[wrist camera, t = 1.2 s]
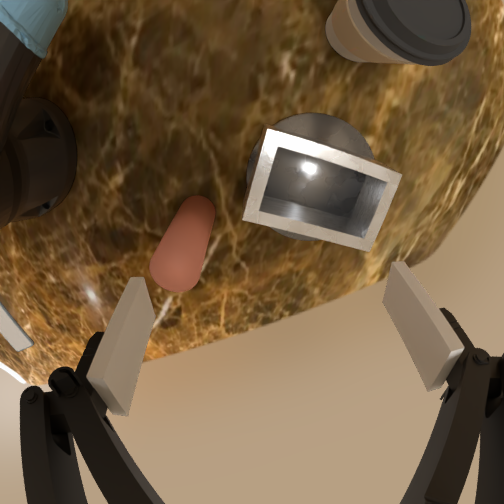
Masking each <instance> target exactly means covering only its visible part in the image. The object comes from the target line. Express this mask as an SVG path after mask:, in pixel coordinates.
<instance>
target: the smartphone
mask: <svg viewBox="0 0 504 504" xmlns="http://www.w3.org/2000/svg"><path fill="white" fill-rule="evenodd" d="M0 332H1V334H2V335H3V336H4V337H5V338H6V340H7V341H8V342H9V343H10V344H11V345H12V347H13V348H14V349H15V350H16V351H18V352H19V351H22V350H24V349H26V348H29V347H31V346H33V345H34V342H33V341H32V339H31V338H30V337H29V336H28V335H27V334H26V333H25V331H24V330H23V329H22V328H21V327H20V326H19V324H18V323H17V322H16V321H15V320H14V318H13V317H12V316H11V315H10V313H9V312H8V311H7V310H6V308H5V307H4V306H3V304H2V303H1V302H0Z"/></svg>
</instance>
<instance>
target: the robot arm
mask: <svg viewBox="0 0 504 504" xmlns="http://www.w3.org/2000/svg"><path fill="white" fill-rule="evenodd" d="M67 9H68V0H0V230H1V229H2V228H3V227H4V226H6V225H7V224H9V223H10V222H15V221H20V220H25V219H31V218H36V217H39V216H42V215H44V214H46V213H48V212H49V211H50V210H52V209H53V208H54V207H56V206H57V205H58V204H60V203H61V202H62V201H63V199H64V198H65V197H66V195H67V194H68V192H69V190H70V188H71V186H72V183H73V180H74V177H75V172H76V165H77V150H76V142H75V138H74V134H73V131H72V128H71V126H70V123H69V121H68V119H67V118H66V116H65V115H64V113H63V112H62V111H61V110H60V109H59V108H58V107H57V106H56V105H55V104H54V103H52V102H50V101H49V100H46V99H43V98H36V97H35V98H27V99H22V98H23V96H24V93H25V91H26V89H27V87H28V85H29V83H30V81H31V79H32V77H33V75H34V73H35V71H36V69H37V67H38V65H39V64H40V62H41V60H42V58H43V59H44V58H45V56H46V54H47V48H48V46H49V44H50V42H51V40H52V39H53V37H54V35H55V33H56V31H57V29H58V28H59V26H60V24H61V23H62V21H63V19H64V18H65V15H66V13H67ZM383 304H384V306H385V308H386V309H387V311H388V313H389V315H390V316H391V319H392V320H393V322H394V324H395V326H396V328H397V330H398V332H399V334H400V336H401V338H402V339H403V341H404V343H405V345H406V347H407V349H408V351H409V353H410V355H411V357H412V359H413V362H414V364H415V366H416V368H417V370H418V372H419V374H420V376H421V378H422V380H423V382H424V385H425V387H426V389H427V391H432V390H435V389H439V388H441V387H442V385H443V384H444V382H445V380H446V381H447V383H448V385H449V386H448V387H447V389H446V390H445V392H444V393H443V395H442V396H441V398H440V400H442V399H443V397H444V399H443V402H442V405H441V408H440V411H439V414H438V417H437V420H436V423H435V426H434V429H433V431H432V434H431V437H430V439H429V442H428V445H427V447H426V449H425V452H424V454H423V457H422V459H421V461H420V464H419V466H418V468H417V470H416V473H415V475H414V477H413V479H412V481H411V483H410V485H409V487H408V489H407V491H406V493H405V495H404V497H403V499H402V500H401V502H400V504H457V503H458V500H459V497H460V495H461V492H462V490H463V487H464V484H465V481H466V478H467V476H468V473H469V470H470V466H471V463H472V460H473V457H474V453H475V449H476V446H477V442H478V438H479V434H480V458H479V472H478V473H479V474H478V482H477V491H476V499H475V504H504V353H503V355H502V357H490V356H489V354H488V353H487V352H486V351H484V350H483V349H480V348H475V347H474V346H473V344H472V342H471V341H470V339H469V338H468V337H467V335H466V333H465V332H464V330H463V329H462V328H461V326H460V325H459V323H458V322H457V320H456V319H455V317H454V316H453V315H452V313H450V312H449V311H448V310H446V309H445V308H438V307H437V305H436V304H435V303H434V301H433V300H432V298H431V297H430V296H429V294H428V293H427V291H426V290H425V289H424V287H423V286H422V285H421V283H420V282H419V281H418V279H417V278H416V277H415V275H414V274H413V273H412V271H411V270H410V269H409V267H408V266H407V265H406V264H405V262H404V261H400V262H392V264H391V268H390V273H389V277H388V282H387V286H386V290H385V294H384V298H383ZM155 317H156V316H155V313H154V310H153V307H152V304H151V300H150V297H149V293H148V290H147V287H146V283H145V280H144V277H131V278H130V280H129V282H128V284H127V286H126V288H125V290H124V292H123V294H122V296H121V298H120V300H119V302H118V304H117V306H116V309H115V311H114V313H113V315H112V317H111V319H110V322H109V324H108V326H107V328H106V331H105V332H96V333H95V334H94V335H93V336H92V337H91V338H90V339H89V341H88V344H87V346H86V349H85V350H84V352H83V356H82V357H81V359H80V361H79V364H78V366H77V368H76V371H75V372H74V370H73V369H72V368H70V367H60V368H57V369H56V370H55V371H53V372H52V374H51V375H50V377H49V380H48V385H49V387H50V388H51V389H52V391H51V392H43V391H42V390H41V388H40V387H38V386H30V387H28V388H27V389H25V390H24V391H23V393H22V395H21V398H20V440H21V456H22V467H23V476H24V484H25V491H26V497H27V503H28V504H88V503H87V499H86V496H85V492H84V488H83V484H82V480H81V476H80V471H79V467H78V462H77V457H76V452H75V447H74V441H73V437H74V439H75V441H76V443H77V445H78V448H79V450H80V452H81V454H82V456H83V458H84V460H85V462H86V464H87V466H88V468H89V470H90V472H91V474H92V476H93V478H94V479H95V481H96V483H97V485H98V487H99V488H100V490H101V492H102V494H103V495H104V497H105V499H106V500H107V502H108V504H165V503H164V502H163V501H162V499H161V498H160V497H159V495H158V494H157V493H156V491H155V490H154V489H153V487H152V486H151V485H150V483H149V482H148V481H147V479H146V478H145V476H144V475H143V474H142V472H141V471H140V469H139V468H138V466H137V465H136V463H135V462H134V460H133V459H132V457H131V456H130V454H129V453H128V451H127V449H126V448H125V446H124V445H123V443H122V441H121V440H120V438H119V436H118V435H117V433H116V431H115V430H114V428H113V426H112V424H111V423H110V421H109V419H108V417H107V416H106V411H107V408H108V409H109V410H110V412H111V413H112V414H114V415H121V416H128V414H129V410H130V406H131V402H132V398H133V394H134V390H135V387H136V383H137V379H138V375H139V372H140V368H141V364H142V361H143V357H144V354H145V350H146V347H147V343H148V340H149V337H150V333H151V330H152V327H153V323H154V320H155ZM72 434H73V435H72Z"/></svg>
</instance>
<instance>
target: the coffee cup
mask: <svg viewBox="0 0 504 504" xmlns="http://www.w3.org/2000/svg"><path fill="white" fill-rule="evenodd" d="M325 31H326V36H327V39H328V41H329V43H330V45H331V46H332V47H333V49H334V50H335V51H336V52H337V53H339V54H340V55H341V56H343V57H344V58H346V59H349V60H351V61H355V62H373V63H394V64H420V65H426V66H437V65H442V64H445V63H447V62H449V61H451V60H452V59H453V58H454V57H456V56H458V55H459V54H460V53H461V52H462V51H463V50H464V49H465V48H466V46H467V44H468V42H469V39H470V35H471V19H470V14H469V10H468V6H467V4H466V1H465V0H338V2H337V3H336V5H335V6H334V9H333V11H332V13H331V14H330V16H329V17H328V19H327V22H326V26H325Z"/></svg>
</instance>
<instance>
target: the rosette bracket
mask: <svg viewBox="0 0 504 504" xmlns="http://www.w3.org/2000/svg"><path fill="white" fill-rule="evenodd" d="M401 176H402V174H400V173H399V172H397V171H395V170H394V169H392V168H390V167H389V166H387V165H385V164H383V163H382V162H379V161H377V160H375V159H374V156H373V153H372V151H371V149H370V147H369V145H368V143H367V142H366V140H365V139H364V137H363V136H362V135H361V134H360V133H359V132H358V131H357V130H356V129H355V128H354V127H352V126H351V125H350V124H348V123H346V122H345V121H343V120H341V119H338V118H336V117H333V116H330V115H326V114H320V113H303V114H297V115H293V116H290V117H287V118H285V119H283V120H281V121H279V122H277V123H276V124H274V125H273V126H271V125H267V124H264V128H263V132H262V135H261V137H260V139H259V140H258V142H257V143H256V144H255V146H254V148H253V150H252V152H251V155H250V158H249V162H248V167H247V189H246V193H245V197H244V200H243V215H242V220H244V221H249V222H253V223H257V224H261V225H265V226H269V227H271V228H272V229H273V230H275V231H277V232H278V233H280V234H282V235H284V236H287V237H290V238H293V239H298V240H306V241H313V240H326V241H330V242H333V243H337V244H341V245H345V246H349V247H353V248H356V249H360V250H364V251H368V252H370V250H371V248H372V245H373V243H374V241H375V239H376V237H377V234H378V232H379V230H380V228H381V225H382V223H383V221H384V218H385V216H386V214H387V211H388V209H389V206H390V204H391V202H392V199H393V197H394V194H395V192H396V189H397V187H398V184H399V181H400V179H401Z"/></svg>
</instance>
